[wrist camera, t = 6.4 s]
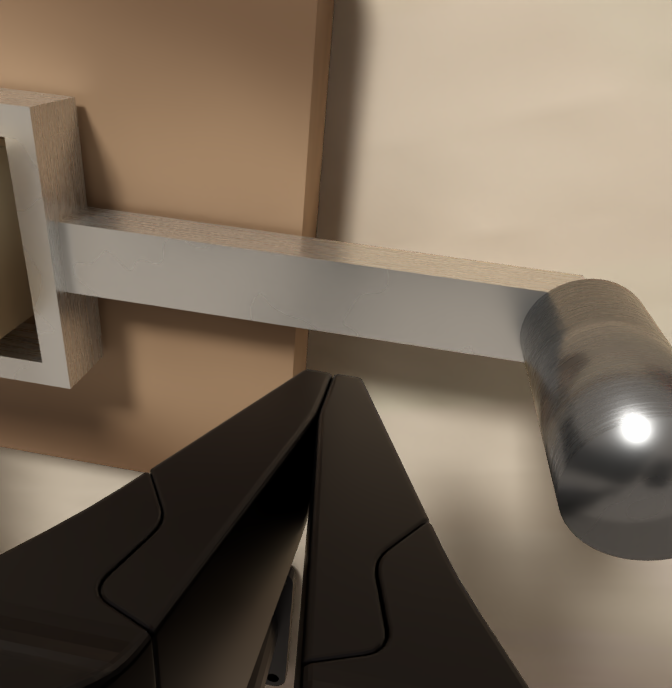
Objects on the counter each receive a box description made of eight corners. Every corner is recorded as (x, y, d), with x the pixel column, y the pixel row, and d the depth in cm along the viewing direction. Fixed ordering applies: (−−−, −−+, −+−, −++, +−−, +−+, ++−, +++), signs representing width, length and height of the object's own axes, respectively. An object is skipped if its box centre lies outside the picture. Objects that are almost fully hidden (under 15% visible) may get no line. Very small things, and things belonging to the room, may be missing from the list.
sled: (586, 433, 14) (664, 658, 9) (-119, 319, 16) (-375, 457, 11) (682, 171, 11) (871, 294, 6) (-197, 63, 13) (-599, 93, 8)
